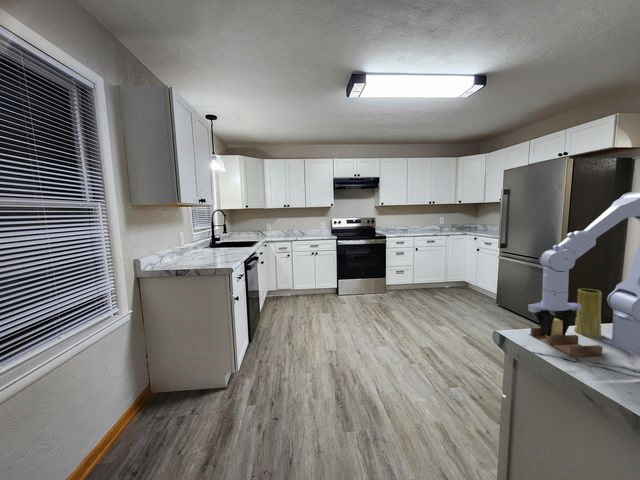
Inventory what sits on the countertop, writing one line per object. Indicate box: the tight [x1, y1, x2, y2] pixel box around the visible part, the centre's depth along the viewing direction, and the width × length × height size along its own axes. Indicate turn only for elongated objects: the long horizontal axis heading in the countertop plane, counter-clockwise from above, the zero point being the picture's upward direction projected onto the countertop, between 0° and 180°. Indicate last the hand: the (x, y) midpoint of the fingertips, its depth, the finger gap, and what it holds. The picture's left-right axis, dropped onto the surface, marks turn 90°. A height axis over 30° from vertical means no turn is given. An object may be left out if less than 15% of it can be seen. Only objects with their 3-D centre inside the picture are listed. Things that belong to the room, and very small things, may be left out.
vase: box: [573, 288, 603, 339], centre depth 83 cm, size 6×6×14 cm
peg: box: [545, 318, 563, 340], centre depth 80 cm, size 4×4×6 cm
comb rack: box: [527, 326, 606, 359], centre depth 77 cm, size 9×15×3 cm, turn 1°
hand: (553, 334), depth 80 cm, fingers closed on peg, 4 cm apart
